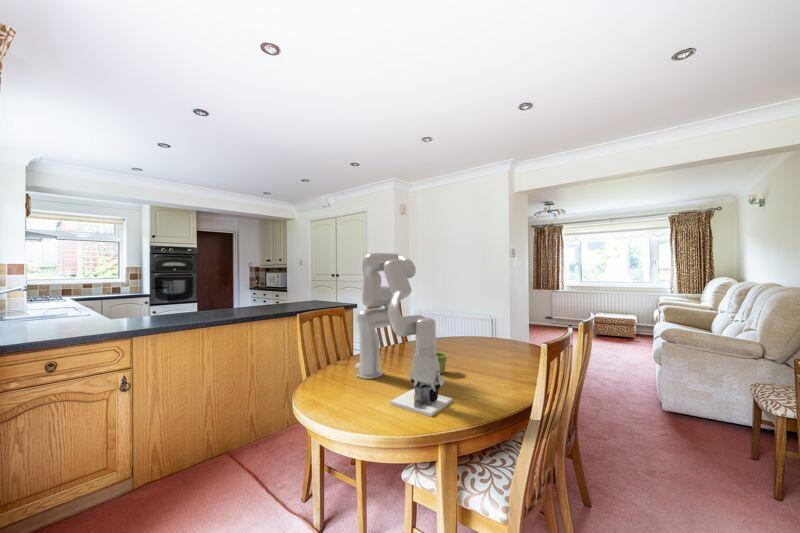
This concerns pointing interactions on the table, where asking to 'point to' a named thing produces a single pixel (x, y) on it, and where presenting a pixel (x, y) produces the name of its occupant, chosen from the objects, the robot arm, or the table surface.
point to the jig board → (408, 403)
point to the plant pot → (442, 361)
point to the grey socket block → (423, 395)
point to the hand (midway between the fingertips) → (426, 398)
